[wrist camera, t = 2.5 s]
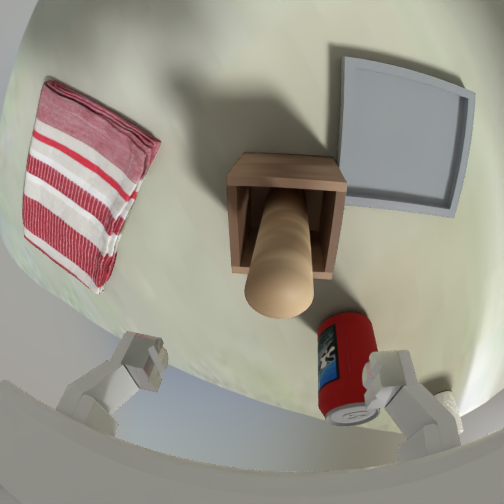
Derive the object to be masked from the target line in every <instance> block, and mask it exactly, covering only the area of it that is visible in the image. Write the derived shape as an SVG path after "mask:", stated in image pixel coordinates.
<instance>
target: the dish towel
mask: <svg viewBox="0 0 504 504" xmlns="http://www.w3.org/2000/svg"><path fill="white" fill-rule="evenodd" d="M160 144H161V142H160V141H159V140H157V139H155V138H154V137H153V136H151V135H149V134H147V133H146V132H144V131H143V130H141V129H139V128H138V127H136V126H134V125H133V124H131V123H129V122H128V121H126V120H125V119H123V118H122V117H120V116H118V115H117V114H115V113H113V112H112V111H110V110H108V109H107V108H105V107H103V106H101V105H99V104H97V103H96V102H94V101H92V100H90V99H88V98H86V97H84V96H83V95H81V94H79V93H77V92H75V91H73V90H71V89H69V88H67V87H66V86H64V85H63V84H60V83H59V82H56V81H48V82H44V84H43V87H42V90H41V94H40V100H39V105H38V110H37V115H36V120H35V125H34V130H33V135H32V141H31V146H30V152H29V155H28V160H27V167H26V176H25V184H24V194H23V208H22V216H23V224H24V237H25V238H26V239H27V240H28V241H29V242H30V243H31V244H33V245H34V246H35V247H36V248H38V249H39V250H40V251H41V252H43V253H44V254H45V255H47V256H48V257H49V258H50V259H51V260H52V261H54V262H55V263H56V264H58V265H59V266H60V267H62V268H63V269H65V270H66V271H67V272H69V273H70V274H71V275H73V276H75V277H76V278H77V279H78V280H79V281H80V282H82V283H83V284H84V285H85V286H87V287H88V288H89V289H91V290H92V291H93V292H94V293H95V294H97V295H99V294H101V293H103V292H104V286H105V283H106V281H108V279H109V277H110V276H111V273H112V271H113V268H114V264H115V260H116V256H117V248H118V244H119V241H120V238H121V235H122V233H123V230H124V228H125V225H126V222H127V220H128V217H129V214H130V212H131V209H132V206H133V204H134V202H135V200H136V197H137V195H138V192H139V190H140V187H141V185H142V182H143V180H144V178H145V175H146V173H147V171H148V168H149V166H150V165H151V163H152V161H153V159H154V157H155V155H156V153H157V150H158V148H159V146H160Z"/></svg>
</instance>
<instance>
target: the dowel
mask: <svg viewBox="0 0 504 504" xmlns="http://www.w3.org/2000/svg"><path fill="white" fill-rule="evenodd" d="M245 297H246V300H247V302H248V304H249V305H250V306H251V307H252V308H253V309H254V310H255V311H257V312H258V313H260V314H262V315H264V316H267V317H271V318H278V319H283V318H290V317H294V316H297V315H299V314H301V313H302V312H304V311H305V310H306V309H307V308H308V307H309V306H310V305H311V303H312V301H313V297H314V288H313V272H312V258H311V245H310V233H309V222H308V212H307V203H306V194H305V191H304V189H299V188H282V187H270V189H269V191H268V195H267V199H266V203H265V207H264V211H263V215H262V219H261V224H260V228H259V232H258V236H257V240H256V244H255V248H254V252H253V256H252V260H251V265H250V269H249V273H248V277H247V281H246V285H245Z"/></svg>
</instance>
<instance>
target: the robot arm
mask: <svg viewBox="0 0 504 504" xmlns="http://www.w3.org/2000/svg"><path fill="white" fill-rule="evenodd" d="M162 346H163V341H162V339H161V338H159V337H154V336H149V335H144V334H139V333H135V332H130V331H127V332H126V333H125V334H124V335H123V337H122V339H121V341H120V343H119V344H118V346H117V348H116V350H115V352H114V354H113V356H112V358H111V360H110V361H109V360H106V361H105V362H104V363H102V364H100V365H99V366H97V367H96V368H94V369H93V370H91V371H90V372H88V373H87V374H85V375H83V376H82V377H80V378H79V379H77V380H76V381H74V382H73V383H71V384H70V385H68V386H67V388H66V390H65V392H64V394H63V396H62V398H61V400H60V402H59V404H58V406H57V408H56V410H55V409H53V408H52V407H50V406H48V405H46V404H45V403H43V402H41V401H39V400H38V399H36V398H35V397H33V396H31V395H30V394H28V393H27V392H25V391H24V390H22V389H21V388H19V387H17V386H16V385H15V384H13V383H12V382H10V381H8V380H2V381H0V504H504V427H503V428H500V429H498V430H496V431H494V432H492V433H490V434H487V435H485V436H483V437H480V438H478V439H475V440H473V441H470V442H468V443H465V444H463V445H461V444H460V439H459V434H458V429H457V424H456V420H455V417H454V416H453V415H452V414H451V413H450V412H449V411H448V410H447V409H446V408H445V407H444V406H443V405H442V404H441V403H440V402H439V401H438V400H437V399H436V398H435V397H434V396H433V395H432V394H431V393H430V392H429V391H428V390H427V389H426V388H425V387H424V386H423V385H422V384H418V381H417V377H416V374H415V370H414V367H413V363H412V360H411V357H410V353H409V351H408V350H400V351H380V352H372V353H371V354H370V356H369V360H370V361H369V362H368V363H366V364H365V366H364V369H363V374H362V381H363V386H364V387H365V388H366V389H367V391H366V393H365V394H364V397H365V405H366V409H375V408H385V410H386V411H387V412H388V414H389V415H390V416H391V418H392V419H393V421H394V422H395V423H396V425H397V426H398V427H399V429H400V430H401V431H402V433H403V434H404V436H405V437H406V438H407V440H406V441H405V442H404V443H402V444H401V445H400V446H399V447H398V448H397V458H398V462H397V463H393V464H387V465H381V466H374V467H368V468H359V469H350V470H338V471H319V472H283V471H265V470H253V469H243V468H235V467H227V466H221V465H215V464H209V463H204V462H198V461H194V460H189V459H185V458H180V457H176V456H172V455H168V454H164V453H161V452H158V451H154V450H151V449H147V448H144V447H141V446H138V445H135V444H132V443H129V442H126V441H124V440H121V439H118V438H116V437H114V436H115V433H116V431H117V428H118V425H119V424H118V422H117V421H116V420H115V419H114V418H113V417H112V416H111V414H112V413H113V412H114V411H115V410H117V409H118V408H119V407H120V406H121V405H122V404H123V403H124V402H126V401H127V400H128V399H129V398H130V397H131V396H133V395H134V394H135V393H136V392H137V391H138V390H139V388H140V389H144V390H148V391H153V392H158V389H159V387H160V384H161V381H162V378H161V375H160V374H162V373H163V372H164V371H165V370H166V367H167V364H168V353H167V350H166V349H165V348H164V347H162Z"/></svg>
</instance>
